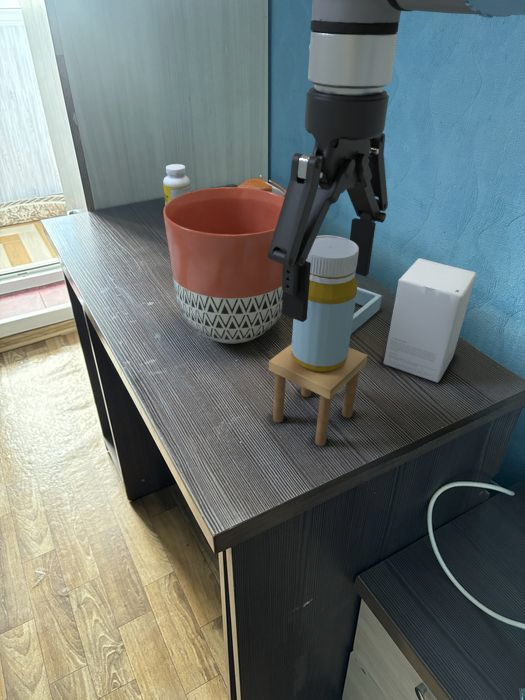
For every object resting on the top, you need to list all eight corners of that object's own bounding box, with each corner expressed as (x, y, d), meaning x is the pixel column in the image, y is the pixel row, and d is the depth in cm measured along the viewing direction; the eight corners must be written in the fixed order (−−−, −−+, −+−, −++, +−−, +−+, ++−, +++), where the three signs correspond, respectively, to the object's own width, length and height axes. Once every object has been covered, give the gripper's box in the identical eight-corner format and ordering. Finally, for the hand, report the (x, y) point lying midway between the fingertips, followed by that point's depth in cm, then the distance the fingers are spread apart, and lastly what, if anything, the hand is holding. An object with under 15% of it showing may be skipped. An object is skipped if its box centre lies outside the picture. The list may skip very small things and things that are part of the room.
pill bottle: (172, 207, 135) (168, 161, 128) (195, 210, 133) (193, 164, 127) (161, 216, 129) (157, 169, 123) (185, 219, 128) (182, 171, 121)
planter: (313, 330, 88) (324, 207, 76) (236, 383, 76) (235, 248, 64) (230, 292, 99) (228, 179, 86) (150, 334, 86) (134, 209, 74)
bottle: (279, 358, 65) (285, 246, 56) (312, 335, 69) (323, 228, 60) (325, 382, 61) (339, 266, 52) (357, 356, 65) (375, 245, 57)
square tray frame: (379, 309, 95) (382, 295, 93) (347, 337, 87) (349, 322, 85) (325, 290, 100) (327, 276, 98) (291, 313, 93) (292, 299, 91)
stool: (357, 413, 71) (368, 354, 66) (323, 450, 66) (330, 390, 60) (303, 387, 76) (308, 330, 70) (266, 420, 70) (268, 360, 64)
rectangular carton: (455, 355, 83) (480, 271, 75) (438, 384, 77) (463, 296, 68) (401, 337, 87) (418, 255, 79) (381, 364, 81) (397, 278, 72)
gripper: (375, 71, 57) (353, 249, 69) (227, 99, 41) (232, 326, 53) (440, 77, 54) (405, 265, 66) (306, 112, 37) (292, 353, 49)
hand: (328, 293), depth 59 cm, fingers open, 13 cm apart
